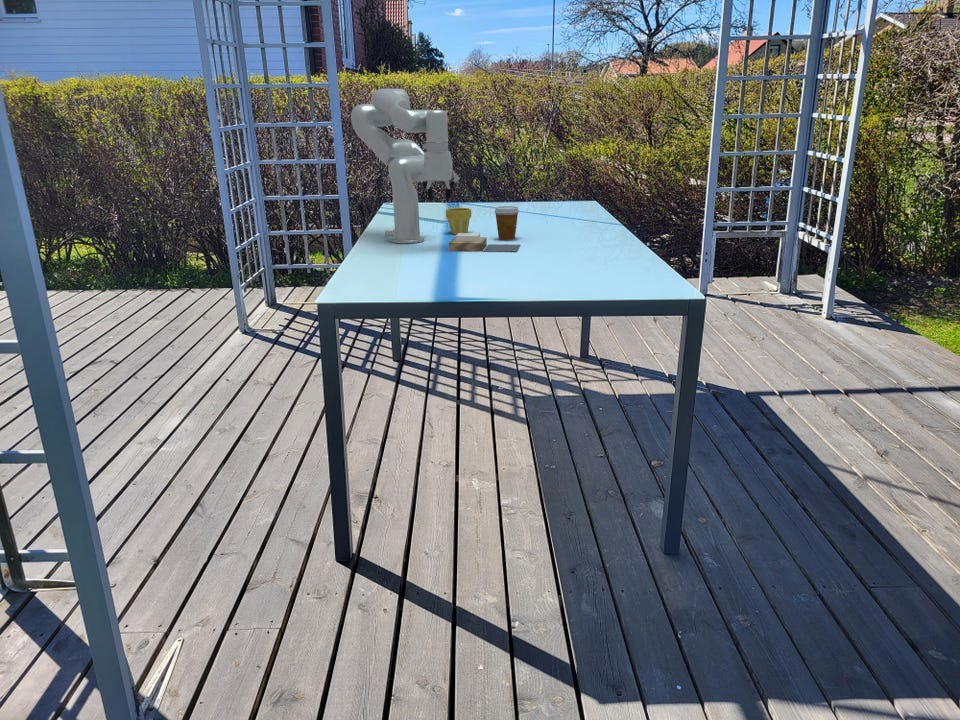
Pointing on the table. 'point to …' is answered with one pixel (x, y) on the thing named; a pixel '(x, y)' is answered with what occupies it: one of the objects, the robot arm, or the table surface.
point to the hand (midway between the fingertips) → (439, 199)
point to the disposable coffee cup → (506, 222)
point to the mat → (501, 248)
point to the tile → (468, 237)
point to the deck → (468, 245)
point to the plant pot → (458, 219)
